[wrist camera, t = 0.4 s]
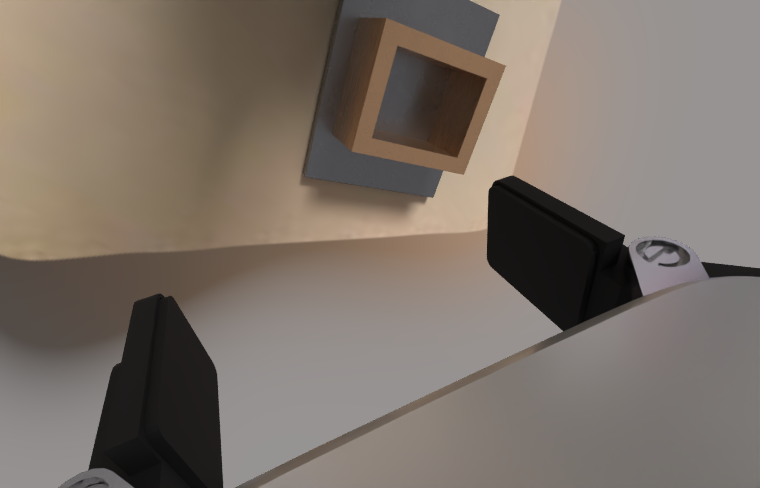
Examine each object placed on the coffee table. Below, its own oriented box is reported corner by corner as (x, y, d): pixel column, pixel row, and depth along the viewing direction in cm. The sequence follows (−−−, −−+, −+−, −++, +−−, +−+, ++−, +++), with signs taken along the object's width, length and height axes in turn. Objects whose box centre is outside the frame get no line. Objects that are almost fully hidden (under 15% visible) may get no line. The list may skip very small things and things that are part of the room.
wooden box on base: (351, -53, 32) (384, -67, 27) (492, 14, 40) (542, 15, 34) (302, 173, 40) (320, 199, 34) (428, 193, 48) (460, 218, 42)
